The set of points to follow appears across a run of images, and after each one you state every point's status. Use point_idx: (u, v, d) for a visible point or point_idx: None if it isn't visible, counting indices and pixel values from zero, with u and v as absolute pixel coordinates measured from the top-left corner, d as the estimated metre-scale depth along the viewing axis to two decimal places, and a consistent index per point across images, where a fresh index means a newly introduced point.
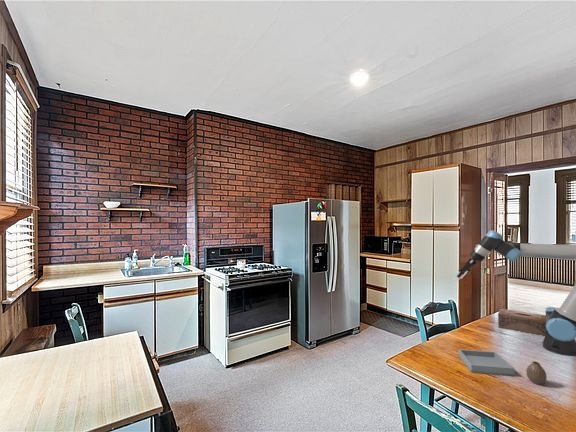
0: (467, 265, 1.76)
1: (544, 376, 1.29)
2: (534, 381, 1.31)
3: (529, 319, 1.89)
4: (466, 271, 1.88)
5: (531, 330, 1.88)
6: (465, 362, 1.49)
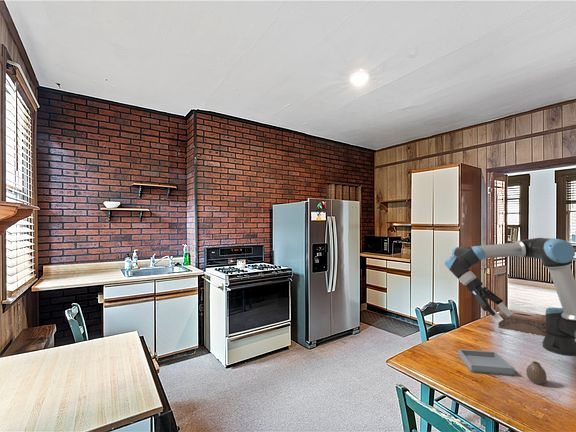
0: (478, 298, 1.44)
1: (544, 376, 1.29)
2: (534, 381, 1.31)
3: (529, 319, 1.89)
4: (501, 304, 1.48)
5: (531, 330, 1.88)
6: (465, 362, 1.49)
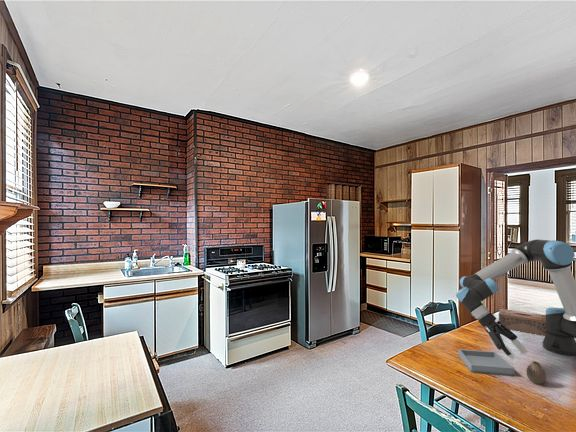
0: (492, 336, 1.38)
1: (544, 376, 1.29)
2: (534, 381, 1.31)
3: (530, 319, 1.89)
4: (515, 340, 1.43)
5: (532, 330, 1.88)
6: (465, 362, 1.49)
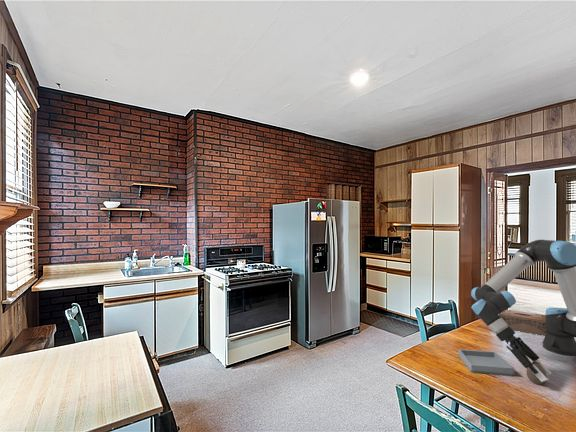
0: (516, 354, 1.33)
1: None
2: (534, 381, 1.31)
3: (530, 319, 1.88)
4: (537, 361, 1.34)
5: (532, 330, 1.88)
6: (465, 362, 1.49)
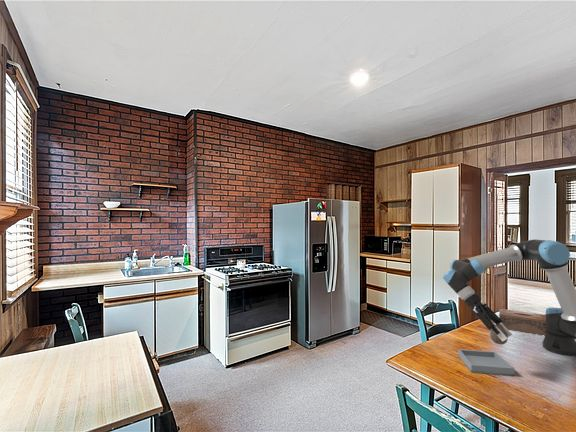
0: (480, 317, 1.43)
1: None
2: (496, 341, 1.41)
3: (531, 319, 1.88)
4: (500, 324, 1.45)
5: (533, 330, 1.88)
6: (465, 362, 1.49)
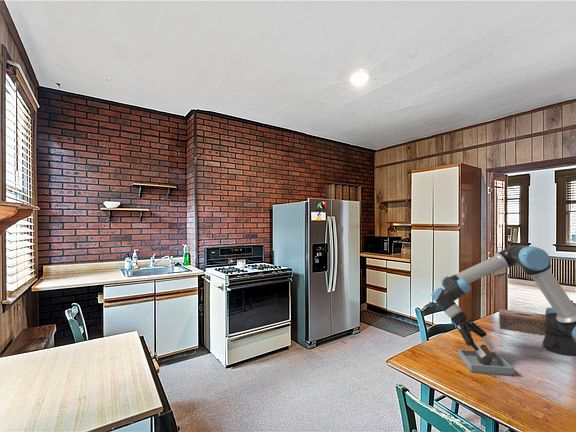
0: (462, 333, 1.49)
1: (490, 357, 1.45)
2: (481, 362, 1.47)
3: (531, 319, 1.88)
4: (485, 337, 1.53)
5: (533, 330, 1.88)
6: (465, 362, 1.49)
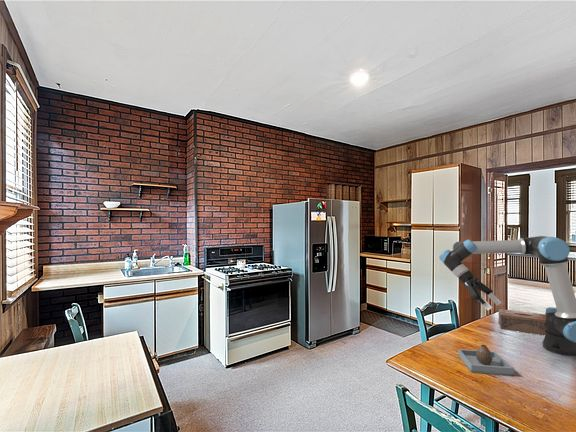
0: (469, 289, 1.57)
1: (490, 357, 1.45)
2: (481, 362, 1.47)
3: (532, 319, 1.88)
4: (491, 294, 1.61)
5: (534, 330, 1.88)
6: (465, 362, 1.49)
